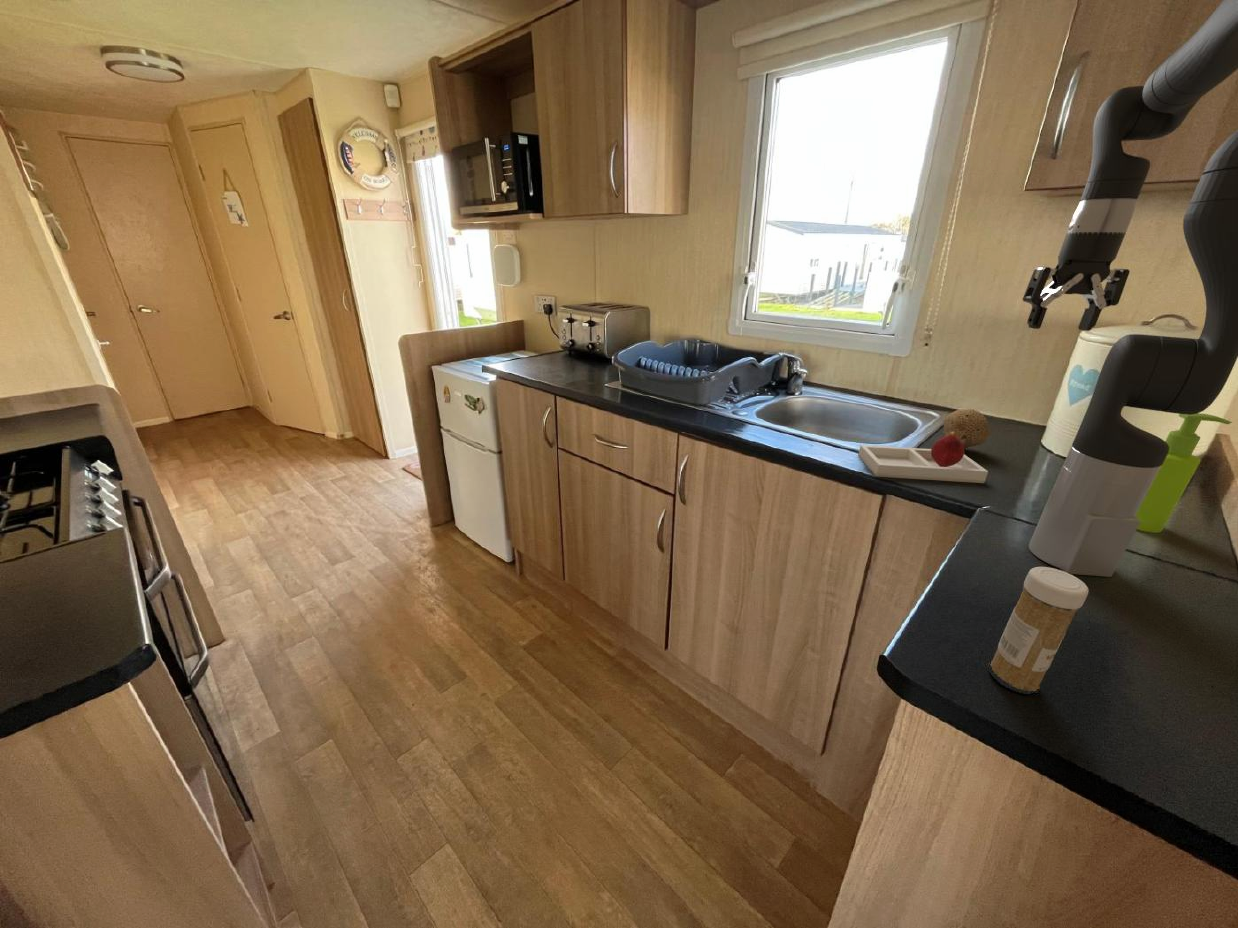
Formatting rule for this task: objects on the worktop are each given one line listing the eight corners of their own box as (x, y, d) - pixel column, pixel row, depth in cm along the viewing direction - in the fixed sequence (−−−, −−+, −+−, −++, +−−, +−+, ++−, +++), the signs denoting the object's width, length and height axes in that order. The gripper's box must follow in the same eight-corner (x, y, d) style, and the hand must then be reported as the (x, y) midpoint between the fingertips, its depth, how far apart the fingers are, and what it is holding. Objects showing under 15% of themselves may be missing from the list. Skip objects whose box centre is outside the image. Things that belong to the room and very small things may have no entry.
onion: (963, 474, 100) (975, 438, 97) (933, 471, 101) (944, 436, 98) (951, 463, 106) (962, 428, 102) (922, 460, 107) (933, 426, 103)
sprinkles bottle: (1045, 702, 50) (1100, 598, 45) (993, 689, 52) (1041, 587, 46) (1028, 669, 54) (1076, 570, 49) (980, 658, 56) (1022, 560, 50)
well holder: (983, 483, 98) (988, 471, 97) (875, 476, 100) (878, 464, 99) (955, 461, 108) (959, 450, 107) (858, 455, 110) (860, 445, 109)
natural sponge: (979, 447, 116) (993, 407, 112) (985, 460, 109) (1000, 418, 105) (935, 440, 120) (947, 401, 116) (938, 452, 113) (951, 411, 109)
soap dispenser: (1178, 536, 81) (1243, 423, 72) (1125, 528, 83) (1184, 417, 75) (1156, 520, 86) (1215, 412, 77) (1108, 512, 88) (1160, 406, 80)
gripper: (1066, 229, 79) (1030, 331, 86) (1162, 231, 78) (1118, 334, 84) (1036, 231, 86) (1004, 325, 93) (1123, 232, 85) (1085, 327, 91)
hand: (1058, 329), depth 89 cm, fingers open, 8 cm apart
